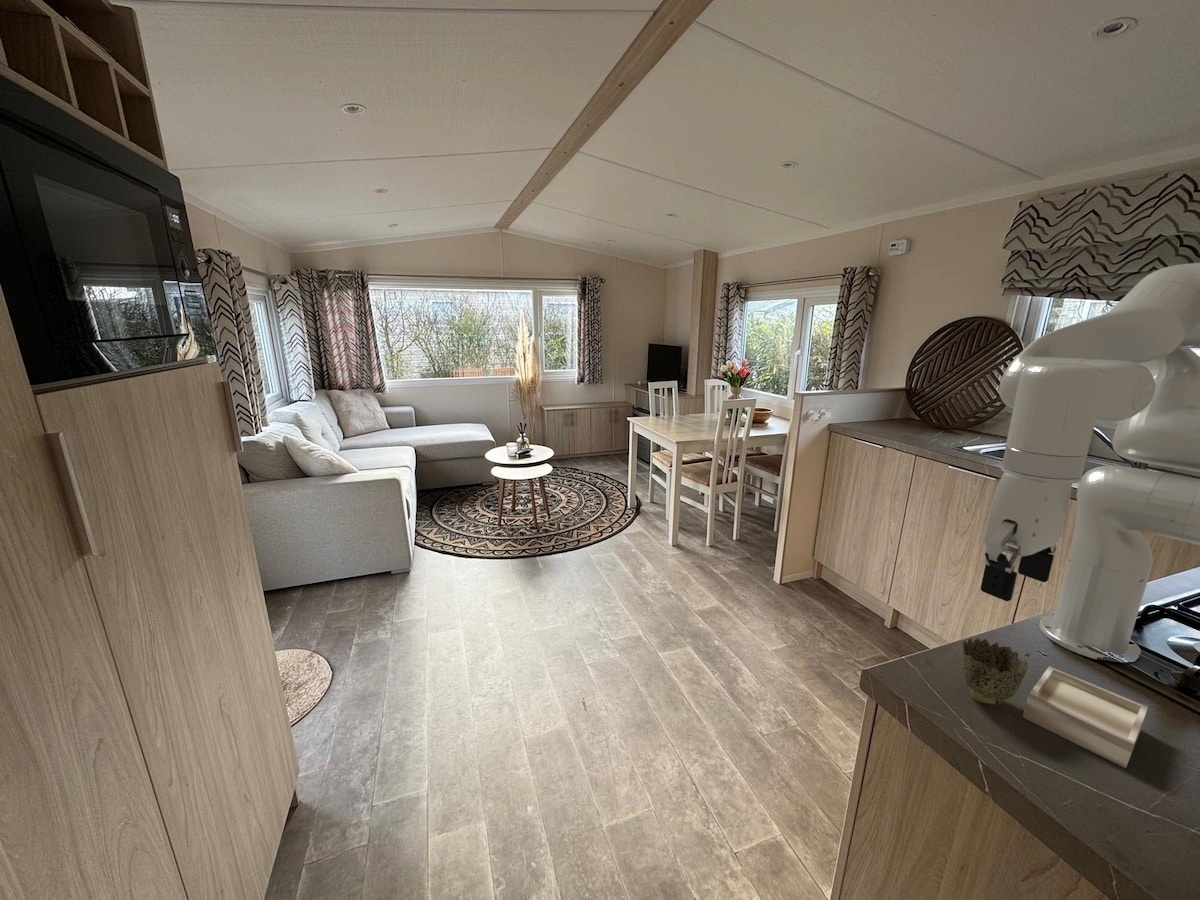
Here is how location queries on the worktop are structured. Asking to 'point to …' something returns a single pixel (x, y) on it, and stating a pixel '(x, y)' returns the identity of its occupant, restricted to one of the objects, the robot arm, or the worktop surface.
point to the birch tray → (1086, 715)
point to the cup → (991, 671)
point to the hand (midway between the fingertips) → (1014, 586)
